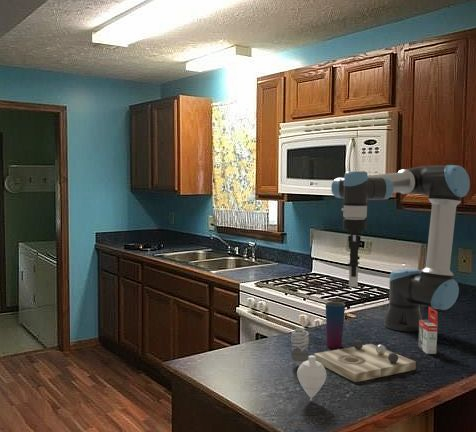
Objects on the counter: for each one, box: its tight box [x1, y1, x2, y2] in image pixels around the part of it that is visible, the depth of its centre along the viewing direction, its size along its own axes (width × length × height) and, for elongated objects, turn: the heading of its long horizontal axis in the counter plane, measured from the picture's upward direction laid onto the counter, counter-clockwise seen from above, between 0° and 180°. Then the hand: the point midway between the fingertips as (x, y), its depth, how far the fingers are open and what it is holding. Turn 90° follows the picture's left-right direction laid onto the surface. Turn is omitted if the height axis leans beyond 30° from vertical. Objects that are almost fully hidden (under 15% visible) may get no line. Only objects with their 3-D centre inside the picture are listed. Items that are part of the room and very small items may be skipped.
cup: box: [325, 301, 346, 349], centre depth 188 cm, size 7×7×15 cm
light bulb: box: [290, 328, 310, 367], centre depth 166 cm, size 6×6×12 cm
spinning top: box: [296, 354, 327, 402], centre depth 141 cm, size 8×8×12 cm
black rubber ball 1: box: [353, 339, 364, 349], centre depth 177 cm, size 3×3×3 cm
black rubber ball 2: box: [388, 352, 399, 363], centre depth 164 cm, size 3×3×3 cm
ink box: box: [417, 307, 439, 355], centre depth 184 cm, size 4×8×15 cm, turn 2°
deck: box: [313, 343, 417, 383], centre depth 169 cm, size 24×20×2 cm
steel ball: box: [376, 344, 387, 355], centre depth 172 cm, size 3×3×3 cm
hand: (353, 282), depth 176 cm, fingers open, 13 cm apart
